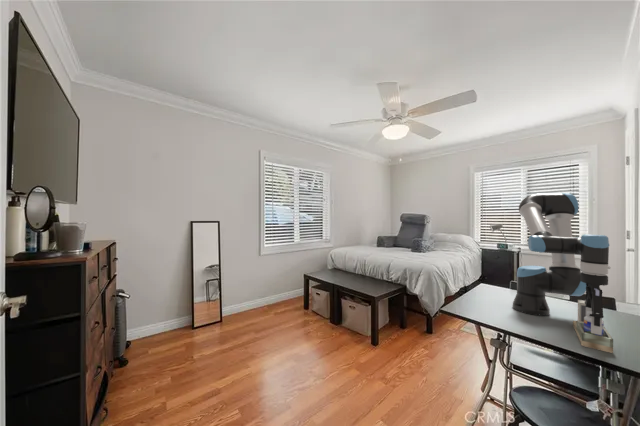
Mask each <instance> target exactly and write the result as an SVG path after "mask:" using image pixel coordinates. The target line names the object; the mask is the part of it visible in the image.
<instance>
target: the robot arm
mask: <svg viewBox="0 0 640 426" xmlns="http://www.w3.org/2000/svg"><path fill="white" fill-rule="evenodd" d="M518 212H519V214H520V215H521V217H523V219H524V222H525V224H526V226H527V230H528V231H529V234H530V236H529V237H528V239H527V245H528V250H529V251H530V252H535V253H536V252H537V253H546V254H547V253H549V254H551V260H552V264H550V265H549V267H548V269H547V268H546V266H542V265H522V266H520V267H518V268H517V269H516V270H517V271H516V295H515V297H514V299H513V301H512V308H513V309H514V310H516V311H518V312H521V313H525V314H529V315H533V316H534V315H535V316H539V317H540V316H544V317H545V316H549V315H550V313H551V312H550V311H551V310H550V307H549V304H548V302H547V299H546V293H547V294H548V293H549V294H555V295H556V294H557V295H564V296H569V297H571V296H573V297H574V296H575V297H581V296H583V295H584V294H585V299H584V301H585V304H586V305H585V306H586V316H587V311H592V314H589V316H591V333H593V334H598V335H602V320H603V318H604V317H605V316H604V308H603V307H604V305H603V304H604V303H603V290H602V289H601V287H600V286H603V287H604V286H608V285H609V276H608V274H609V270H611V266H609V255H610V254H609V251H610V250H609V248H610V241H609V237H608V236H607V235H605V234H589V233H587V234H586V233H585V234H582V235H581V236H575V237H574V236H573V231H572V230H573V229H572V222H571V220H573V219H574V218H575V215H577V214H578V213H579V201H578V199H577V197H576V195H574V194H572V193H568V192H567V193H566V192H565V193H564V192H559V193H557V192H556V193H533V194H530V195H528V196H526V197H525V198H523V199H522V201H521V202H520V203H519V205H518ZM543 215H544V216H543ZM546 220H547V221H548V223H547V221H546ZM548 225H549V226H548ZM575 255H578V256H580V265H579V266H580V267H579V266H577V265H576V257H575ZM596 313H599V314H596Z"/></svg>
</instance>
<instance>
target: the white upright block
mask: <svg viewBox="0 0 640 426" xmlns="http://www.w3.org/2000/svg"><path fill="white" fill-rule="evenodd" d="M585 305H586V304H585V300H582V299H577V321H578V322H582V323H584V317H585V316H586V306H585Z"/></svg>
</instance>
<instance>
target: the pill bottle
mask: <svg viewBox="0 0 640 426" xmlns="http://www.w3.org/2000/svg"><path fill="white" fill-rule="evenodd" d="M589 314H592V311H587V316H585V317H584V333H589V334H593V333H591V316H589ZM596 314H599V313H596ZM604 323H605V322H604V320H603V319H602V335H598V334H594V335H598V336H603V333H604V327H605V324H604Z"/></svg>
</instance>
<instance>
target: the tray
mask: <svg viewBox="0 0 640 426" xmlns="http://www.w3.org/2000/svg"><path fill="white" fill-rule="evenodd" d="M572 327H573V328H574V330H575V333H576V335H577V338H578V340H579V342H580V345H581V346H582V347H586V348H590V349H593V350H598V351H603V352H606V353H609V354H610V353H611V354H614V338H613V336H611V334H610V333H609V332H608V330H607V329H606V327H605V326H604V333H603V336H598V335H594V334H589V333H584V323H582V322H578V320H572Z"/></svg>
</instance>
